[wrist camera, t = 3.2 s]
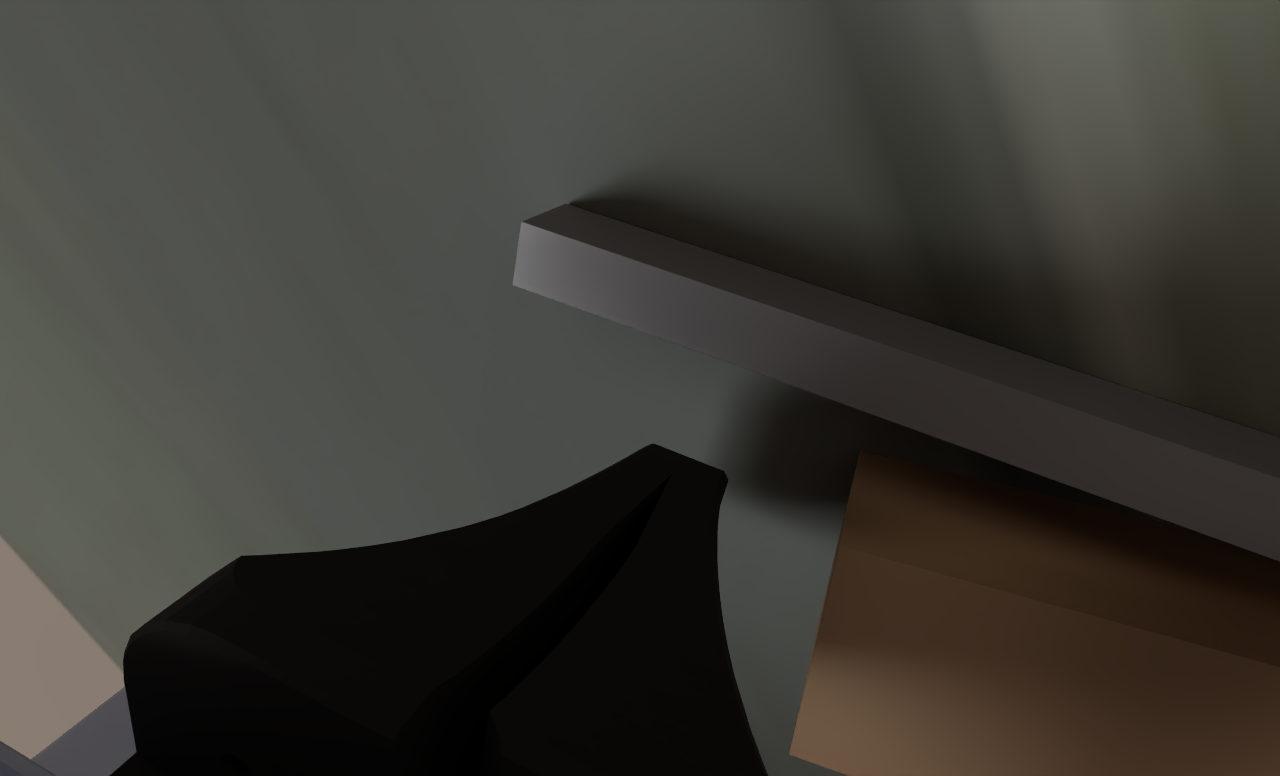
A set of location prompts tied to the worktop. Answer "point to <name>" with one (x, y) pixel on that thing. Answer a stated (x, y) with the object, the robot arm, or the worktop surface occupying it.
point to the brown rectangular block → (1035, 639)
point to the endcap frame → (916, 374)
